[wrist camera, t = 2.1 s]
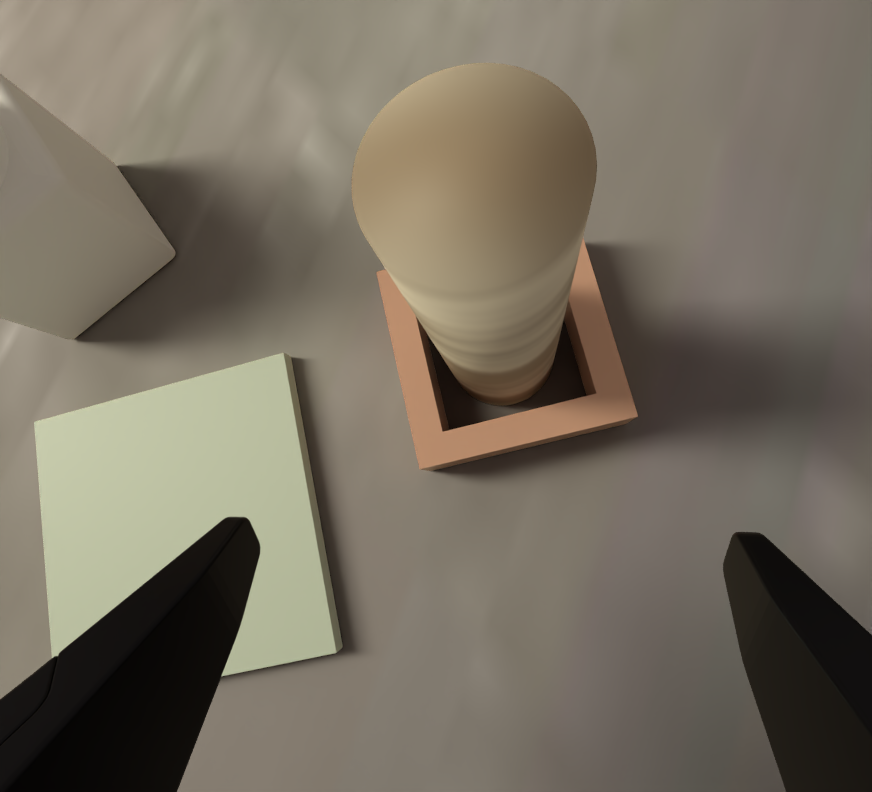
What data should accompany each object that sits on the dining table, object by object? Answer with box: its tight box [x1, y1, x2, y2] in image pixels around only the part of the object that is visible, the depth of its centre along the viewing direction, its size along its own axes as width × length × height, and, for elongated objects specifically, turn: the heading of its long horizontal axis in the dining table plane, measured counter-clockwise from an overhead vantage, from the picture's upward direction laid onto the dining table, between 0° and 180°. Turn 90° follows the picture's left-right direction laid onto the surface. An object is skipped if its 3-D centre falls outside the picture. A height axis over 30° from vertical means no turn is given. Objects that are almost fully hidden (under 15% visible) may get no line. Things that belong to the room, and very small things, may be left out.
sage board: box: [34, 353, 343, 676], centre depth 24 cm, size 13×13×1 cm
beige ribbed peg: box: [352, 63, 597, 406], centre depth 17 cm, size 4×4×14 cm
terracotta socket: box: [376, 239, 638, 471], centre depth 22 cm, size 8×8×2 cm
